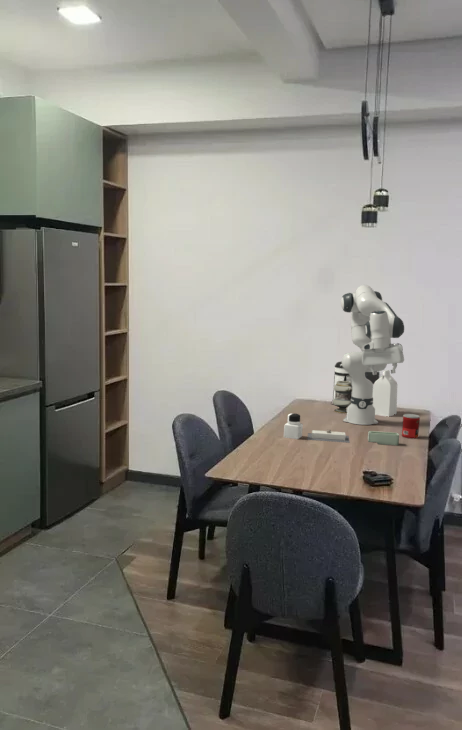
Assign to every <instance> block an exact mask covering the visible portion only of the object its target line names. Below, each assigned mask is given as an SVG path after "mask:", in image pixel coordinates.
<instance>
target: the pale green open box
mask: <svg viewBox="0 0 462 730" xmlns="http://www.w3.org/2000/svg"><path fill="white" fill-rule="evenodd" d="M367 441H368V443H376V444H377V445H388V446H399V441H400V434H399V433H398V432H391V431H378V430H377V431H374V430H368V432H367Z"/></svg>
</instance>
